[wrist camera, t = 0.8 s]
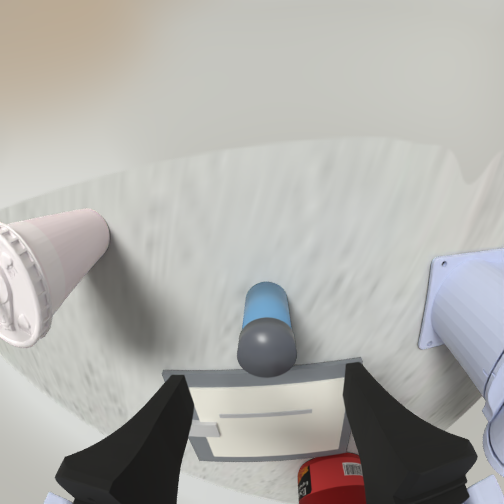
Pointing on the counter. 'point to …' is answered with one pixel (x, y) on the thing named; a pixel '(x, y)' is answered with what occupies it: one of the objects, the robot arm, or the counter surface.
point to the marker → (266, 332)
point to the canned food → (332, 480)
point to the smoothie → (44, 269)
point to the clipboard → (268, 413)
